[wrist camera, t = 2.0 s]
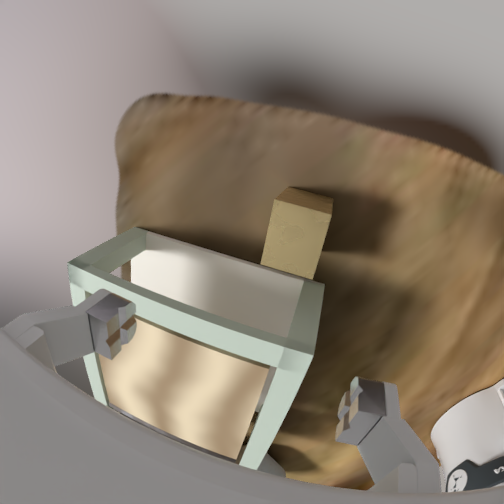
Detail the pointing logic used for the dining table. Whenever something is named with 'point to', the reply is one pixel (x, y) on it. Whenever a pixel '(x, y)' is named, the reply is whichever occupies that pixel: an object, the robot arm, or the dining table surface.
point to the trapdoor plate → (185, 389)
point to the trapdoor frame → (212, 312)
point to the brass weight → (297, 232)
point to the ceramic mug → (265, 464)
